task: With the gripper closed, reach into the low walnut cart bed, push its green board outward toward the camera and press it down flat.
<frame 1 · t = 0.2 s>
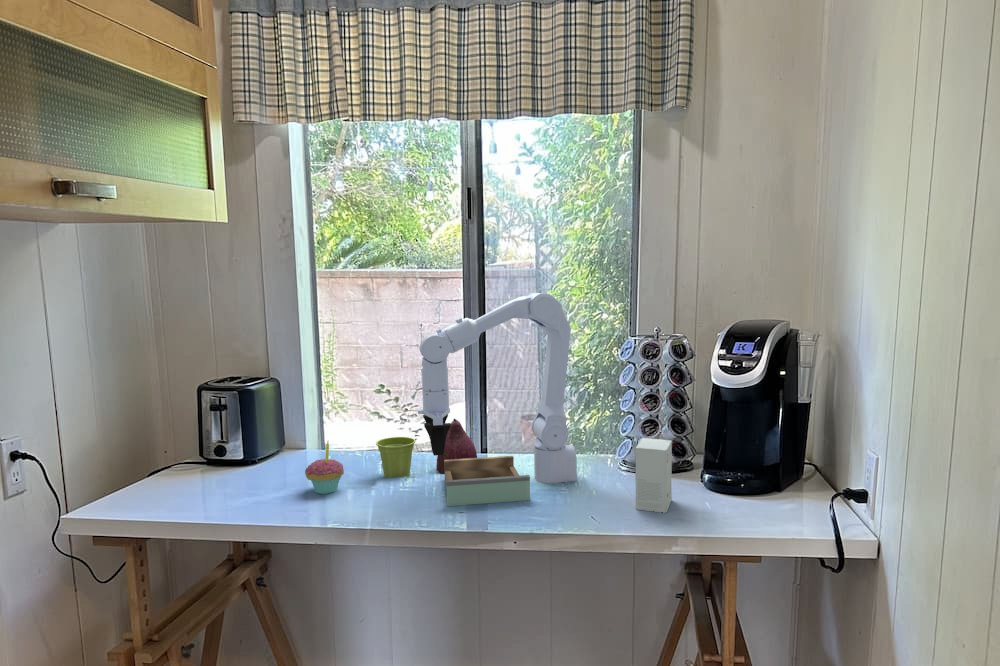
hand: (437, 450, 137), 10 cm above the table, fingers open, 7 cm apart
plant pot: (397, 477, 151), on the table
green board: (488, 490, 128), point 4 cm above the table, hinge at 0.0°
cupcake: (325, 491, 141), on the table
vegetable: (457, 469, 156), on the table
cart bed: (483, 494, 137), on the table
small box: (653, 505, 129), on the table
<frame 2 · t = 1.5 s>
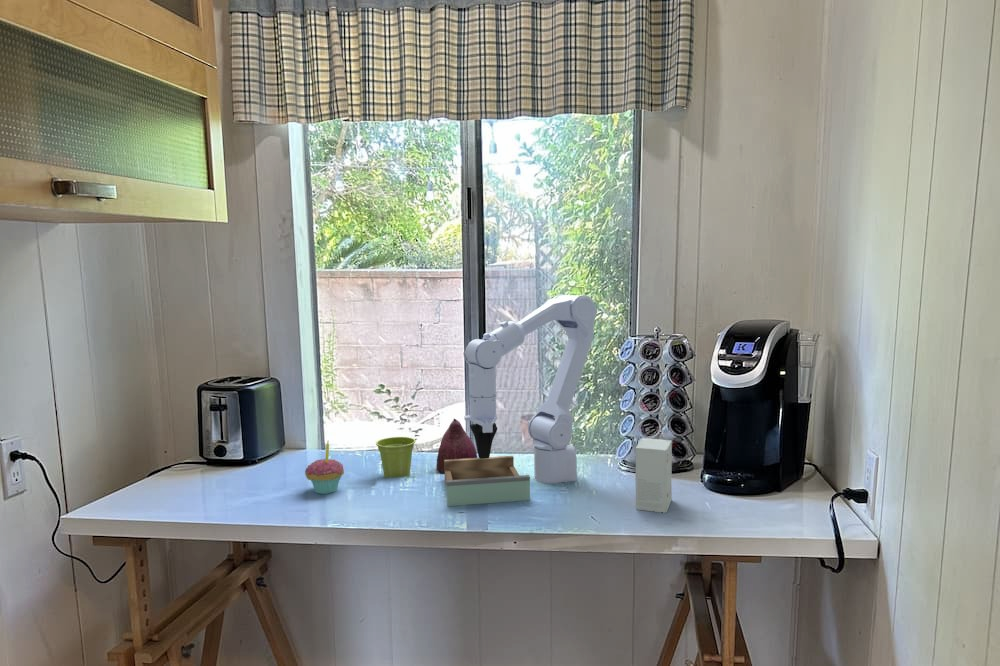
hand: (483, 457, 134), 9 cm above the table, fingers closed
nothing on the table moved.
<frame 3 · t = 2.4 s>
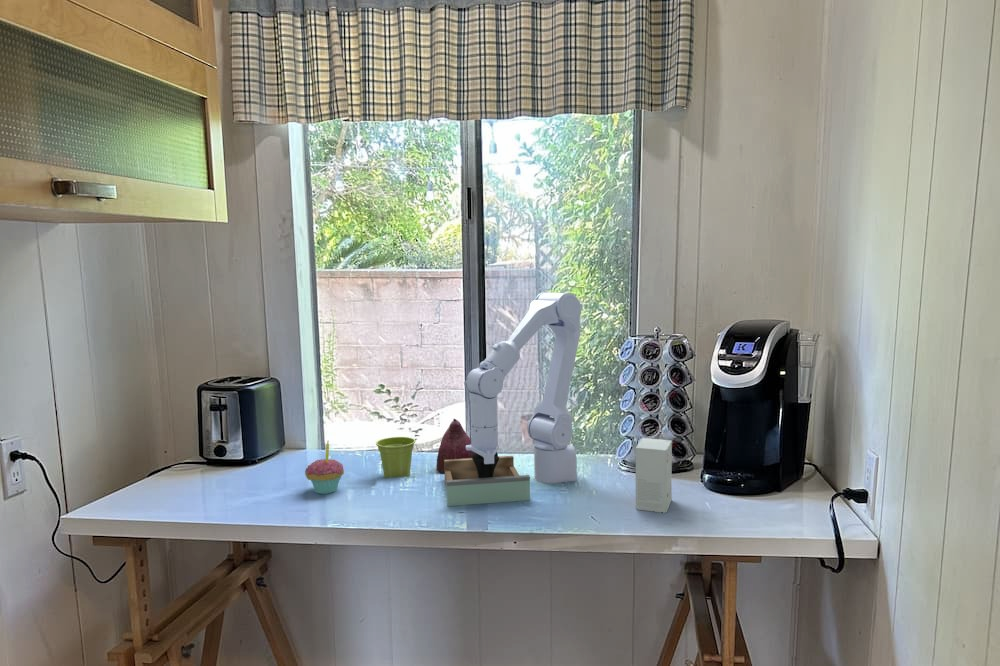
hand: (485, 487, 133), 3 cm above the table, fingers closed
nothing on the table moved.
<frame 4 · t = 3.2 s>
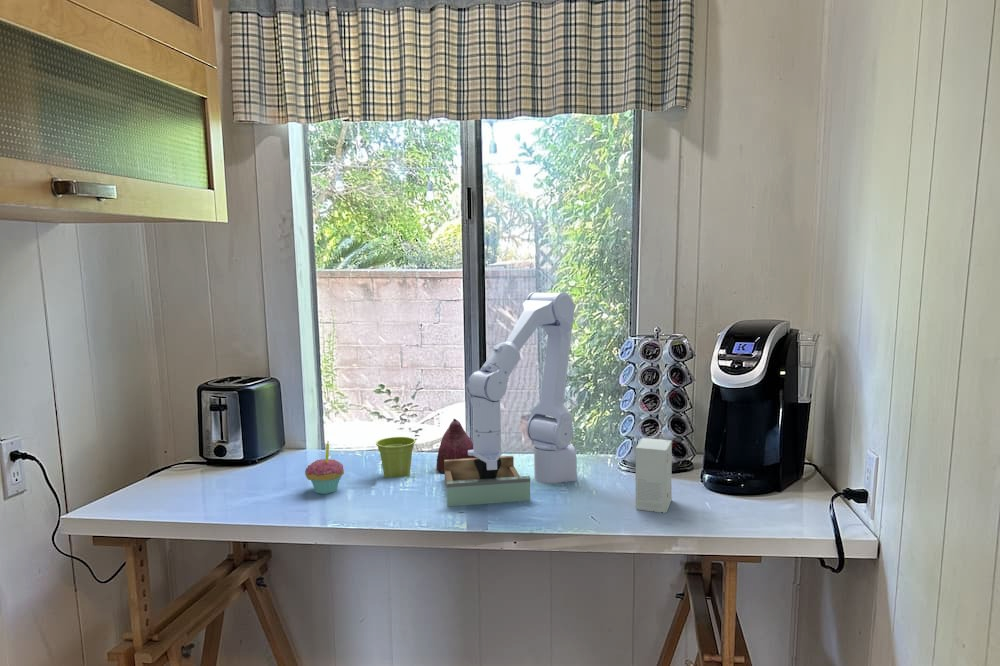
hand: (488, 493, 129), 3 cm above the table, fingers closed, pressing on green board
green board: (488, 491, 128), point 4 cm above the table, hinge at 6.3°, touching gripper
everything else where it was.
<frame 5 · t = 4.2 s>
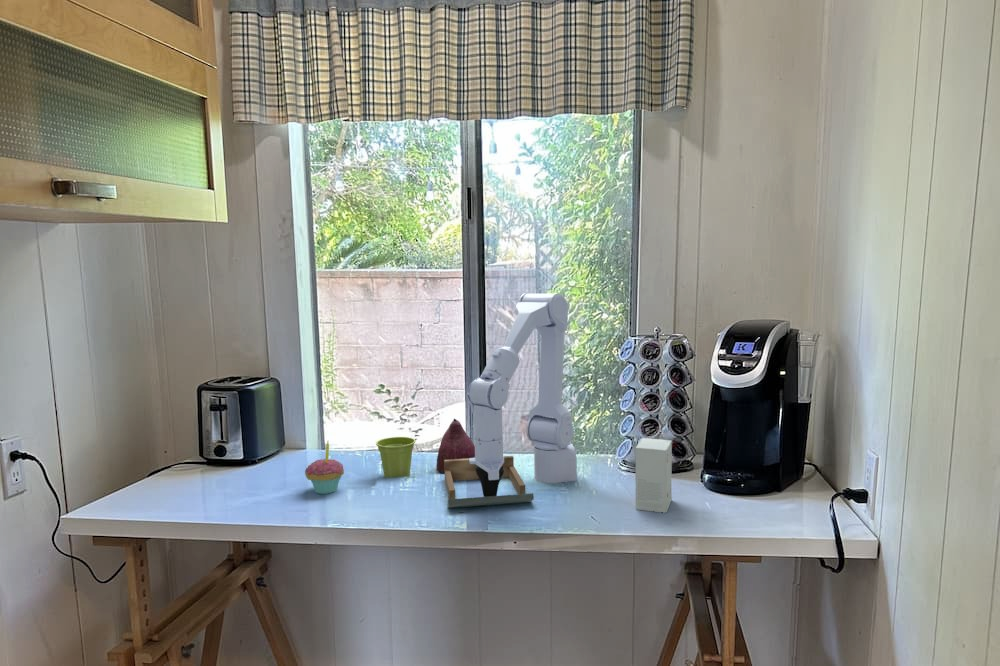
hand: (490, 501, 127), 2 cm above the table, fingers closed, pressing on green board
green board: (490, 501, 126), point 2 cm above the table, hinge at 60.0°, touching gripper
everything else where it was.
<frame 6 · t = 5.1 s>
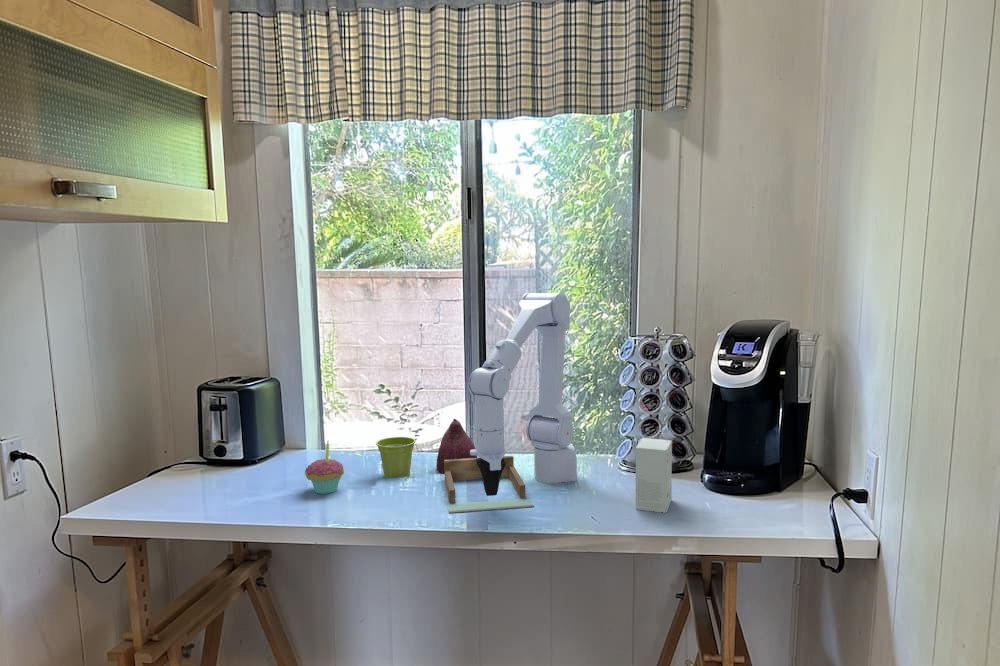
hand: (491, 494, 125), 4 cm above the table, fingers closed
green board: (490, 507, 126), point 1 cm above the table, hinge at 89.1°
everything else where it was.
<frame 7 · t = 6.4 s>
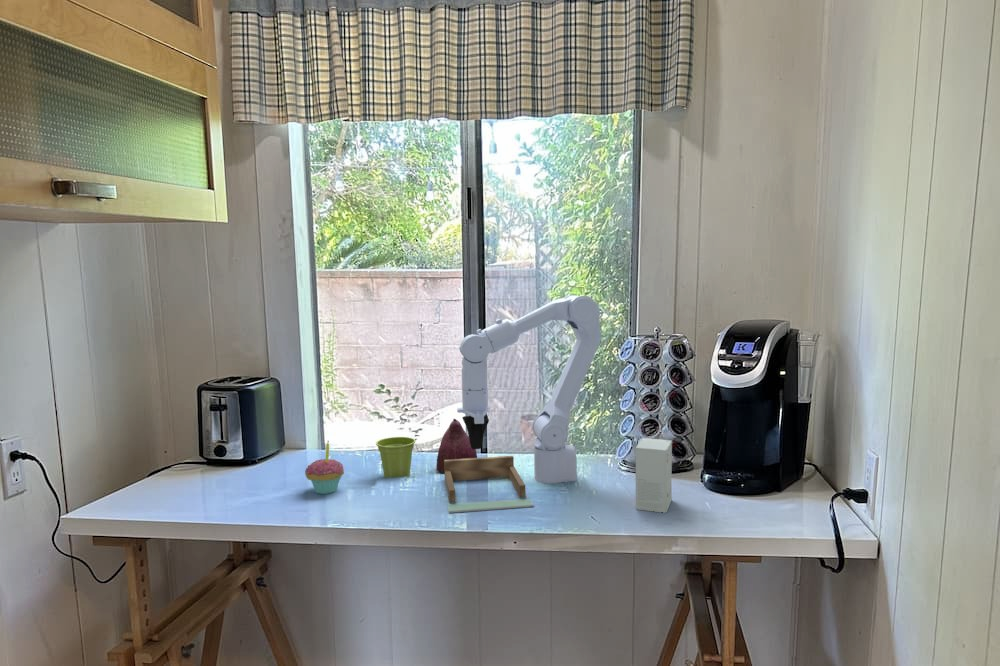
hand: (476, 448, 140), 9 cm above the table, fingers closed
nothing on the table moved.
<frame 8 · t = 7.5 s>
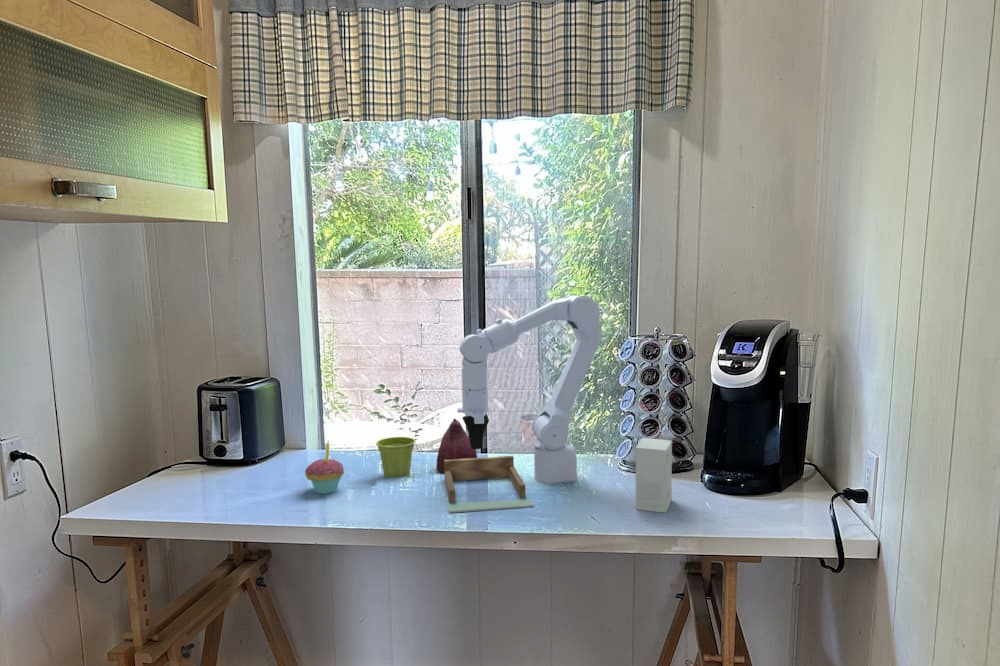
hand: (476, 448, 140), 9 cm above the table, fingers closed
nothing on the table moved.
at the end: green board at +89° (first picture: +0°) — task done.
